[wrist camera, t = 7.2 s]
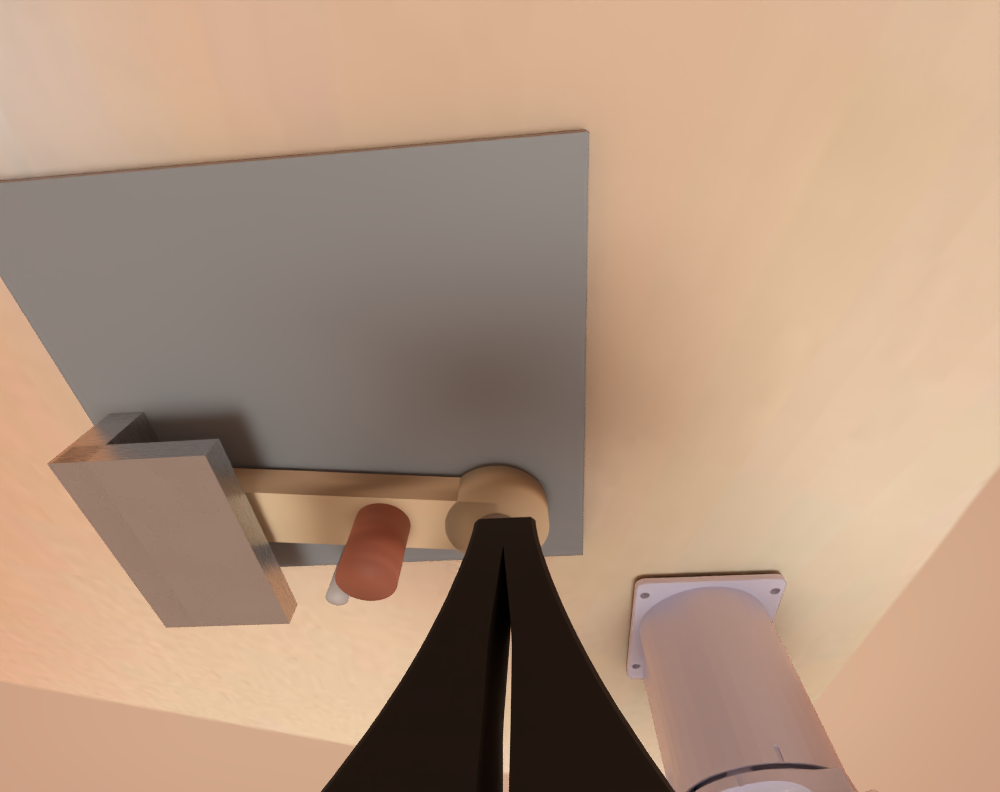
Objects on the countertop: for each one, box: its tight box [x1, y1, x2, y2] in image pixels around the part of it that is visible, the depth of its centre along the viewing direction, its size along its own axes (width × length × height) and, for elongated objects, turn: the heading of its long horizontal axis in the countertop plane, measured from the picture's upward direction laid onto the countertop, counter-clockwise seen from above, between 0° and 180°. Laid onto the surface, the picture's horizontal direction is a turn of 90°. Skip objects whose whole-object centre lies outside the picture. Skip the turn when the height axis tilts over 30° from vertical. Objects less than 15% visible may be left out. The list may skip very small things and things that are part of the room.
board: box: [0, 130, 589, 605], centre depth 20 cm, size 19×21×4 cm
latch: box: [233, 465, 549, 601], centre depth 21 cm, size 15×5×4 cm, turn 88°
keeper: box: [48, 412, 297, 627], centre depth 22 cm, size 10×6×4 cm, turn 5°
